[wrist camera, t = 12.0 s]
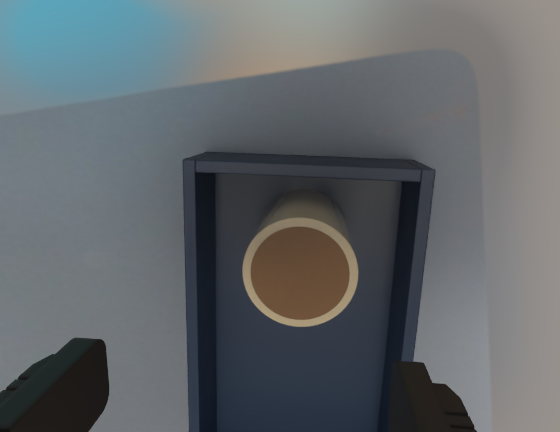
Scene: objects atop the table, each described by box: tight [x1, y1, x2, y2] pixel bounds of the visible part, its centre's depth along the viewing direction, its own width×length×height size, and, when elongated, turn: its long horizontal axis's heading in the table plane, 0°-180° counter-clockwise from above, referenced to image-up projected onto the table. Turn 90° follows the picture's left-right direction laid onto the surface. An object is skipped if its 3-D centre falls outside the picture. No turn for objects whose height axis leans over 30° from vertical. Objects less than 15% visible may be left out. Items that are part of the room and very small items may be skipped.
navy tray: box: [183, 152, 435, 432], centre depth 32 cm, size 26×16×6 cm, turn 178°
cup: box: [242, 190, 359, 327], centre depth 28 cm, size 7×7×9 cm
